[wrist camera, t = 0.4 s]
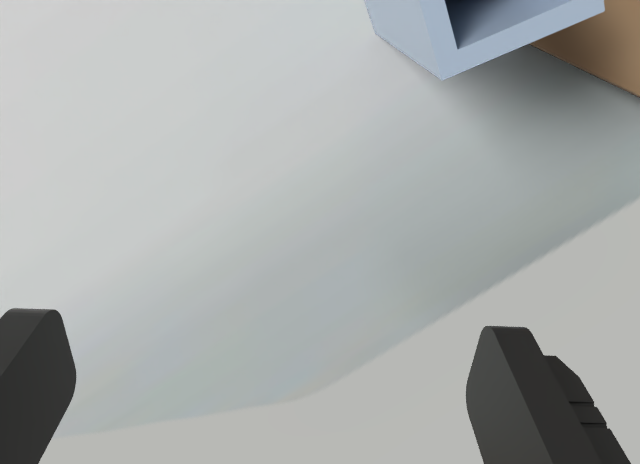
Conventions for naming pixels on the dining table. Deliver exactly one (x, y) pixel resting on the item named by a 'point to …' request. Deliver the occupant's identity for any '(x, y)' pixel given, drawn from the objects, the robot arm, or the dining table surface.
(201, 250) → the dining table surface
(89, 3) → the dining table surface
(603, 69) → the post stand
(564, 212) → the dining table surface
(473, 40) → the sleeve
